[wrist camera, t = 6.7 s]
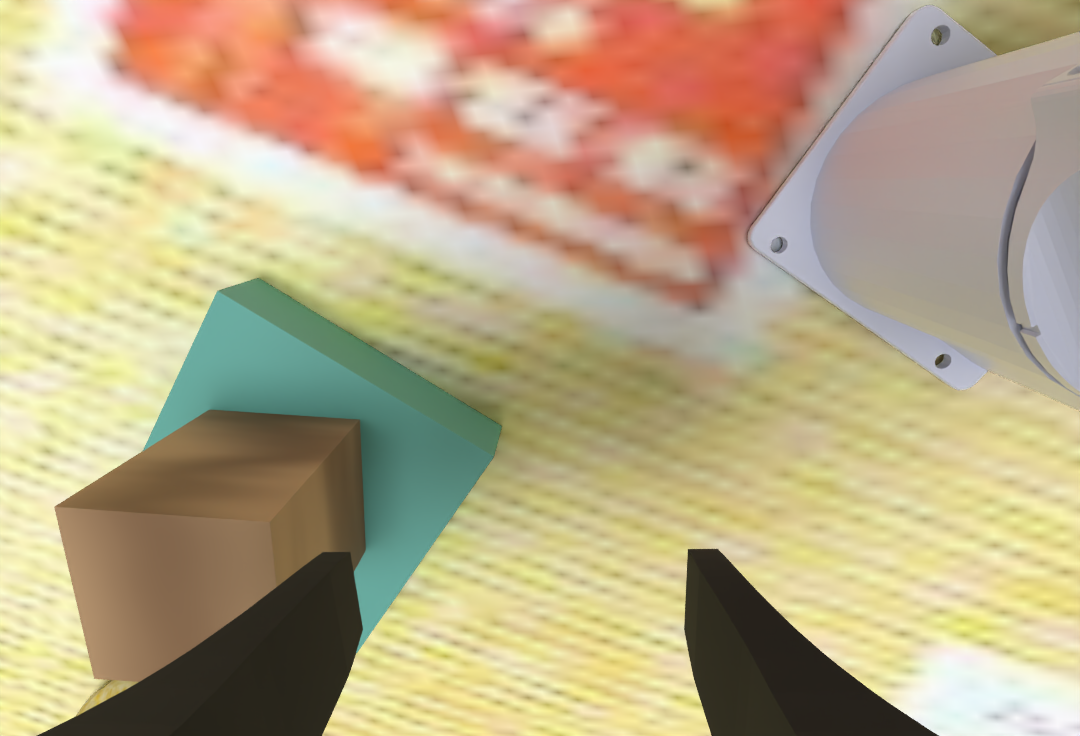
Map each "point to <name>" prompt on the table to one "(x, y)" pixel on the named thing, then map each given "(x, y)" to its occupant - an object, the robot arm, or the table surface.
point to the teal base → (341, 392)
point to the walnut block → (206, 530)
